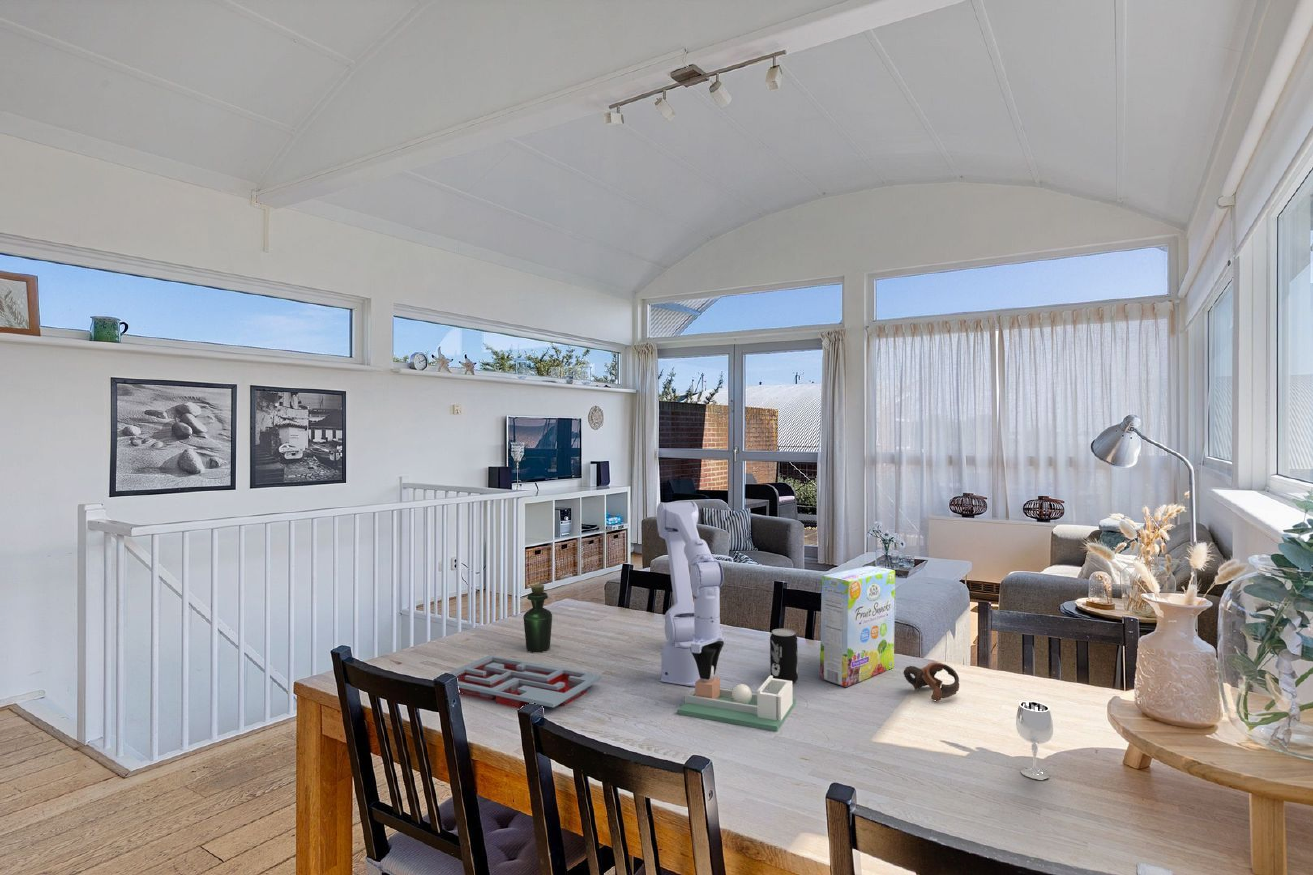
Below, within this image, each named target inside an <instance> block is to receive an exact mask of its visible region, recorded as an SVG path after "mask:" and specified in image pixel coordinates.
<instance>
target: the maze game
mask: <svg viewBox="0 0 1313 875" xmlns="http://www.w3.org/2000/svg"><path fill="white" fill-rule="evenodd" d="M448 673H450V674H453V675H454V676H457V678H458V686H459V690H460V693H461V695H465V694H466V695H465V696H471V697H474V698H479V699H483V700H487V701H494V700H495V703H496V704H498V705H504V706H507V707H511V708H512V707H513V708H516V709H521V708H522V707H521V706H523V705H524V706H526V705H528V704H527V703H529V704H530V703H531V704H534V703H536V704H535V705H539V706H544V707H549V708H555V707H557V706H567V705H568V704H570V703H571V702H573V701H574V700H576V699H578V698H580V697H581V696H583V695H584V694H586V693H587V688H589V687H590V686H592V685H594V684H596V683H598V682H599V681H600V680H603V675H602V674H596V673H592V672H587V671H580V670H574V669H570V668H569V669H568V668H562V667H558V666H552V665H546V664H541V663H535V662H530V661H524V660H518V659H514V658H509V657H502V656H496V655H490V654H489V655H486V656H485V657H482V658H479V659H478V660H475V661H472V662H470V663H468V664H466V665H464V666H460V667H457V668H455V669H454V670H451V671H449V672H448ZM435 678H436V677H434V678H433V680H434V679H435ZM460 693H459V694H460ZM462 693H463V694H462ZM525 704H526V705H525ZM524 706H523V707H524ZM520 707H521V708H520Z"/></svg>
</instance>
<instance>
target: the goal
mask: <svg viewBox="0 0 1313 875" xmlns="http://www.w3.org/2000/svg"><path fill="white" fill-rule="evenodd" d="M767 686H768V692H763V691H764V690H765V688H766V687H767ZM756 693H757V715H758V717H760V718H766V719H772V720H778V721H781V720H782V719H783V717H784V716H785V714H786V713H787V711H788V710H789V708H790V707H791V705H792V704H793V699H794V698H793V684H792V681H788V680H781V679H774V678H773V676H772V675H770V674H769V676H768V677H767V679H766V680H765V681H764V682H763V683H762V684H761V685H760V686H759V687H758V689H757V690H756Z"/></svg>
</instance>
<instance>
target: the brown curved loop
mask: <svg viewBox="0 0 1313 875" xmlns="http://www.w3.org/2000/svg"><path fill="white" fill-rule="evenodd" d="M943 670H944V671H946V672H947V675H949V676H951V677H953V679H954V681H953V682H952V683H950V684H944V683H943V680H941V679H938V677H936V674H937V672H942V671H943ZM912 675H913V676H914V677H913V676H912ZM903 676H904V679H905V680H906V681H907V682H908V683H909V684H911V686H912V687H913V689H914V690H916V691H917V690H920V689H921V688H923V687H926V686H928V687H930V689H931V690H933V692H932V694H931V696H930V699H931V700H932V701H934V700H936V701H938V702H939V701H941V699H946V698H950V697H952V696H954V695H956V694H957V692H959V689H960V683H959V682H960V678H959V674H958V673H957V672H956V671H955V669H954V668H952V666H949V665H947V664H945V663H941V662H937V661H936V662H934V661H933V662H930V663H928V664H927V665H926V666H924V667H922V668H919V667H918V666H917V667H916V666H915V665H914V666H913V665H909V666H907V667H905V668H904V670H903ZM936 701H935V702H936Z"/></svg>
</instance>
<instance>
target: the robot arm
mask: <svg viewBox="0 0 1313 875" xmlns="http://www.w3.org/2000/svg"><path fill="white" fill-rule="evenodd" d="M655 517H656V525H657V532H658V535H659V537H660V538H662V539H663V540H665V545H666V549H667V556H668V557H667V558H668V565H669V566H668V567H669V572H670V582H671V589H672V595H673V597H672V598H673V605H672V606H671V607H670V608H669V609H668V610H667V611H666V612H665V615H664V635H665V639H666V642H665V643H664V644H663V646H662V649H661V679H660V682H662V683H669V684H675V685H681V686H688V687H694V688H695V682H696V681H698V680H699V679H700V678H701V679H707V680H709V679H710V675H711V667H712V666H714V675H715V674H716V671H717V667H718V661H719V658H720V657H719V656H720V654H721V651H722V649H723V647H724V645H725V640H726V635H723V627H721V616H720V615H721V614H720V613H721V611H720V610H721V609H720V608H721V607H720V606H721V604H720V603H721V602H720V600H721V599H720V588H721V587H722V586H723V584H724V579H725V576H724V569H723V565H722V563H721V561H720V560H717V558H714V557H713V555H712V553H711V552H712V551H711V550H710V548H709V546H708V543H707V541H706V540H704V539H702V538H700V534H699V531H698V528H697V524H698V521H699V517H700V516H699V507H698V504H696V502H695V501H694V500H692V501H684V502H683V501H678V502H674V501H673V502H662V501H659V503H658V505H657V507H656V514H655ZM689 568H690V569H689ZM693 597H694V602H693Z"/></svg>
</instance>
